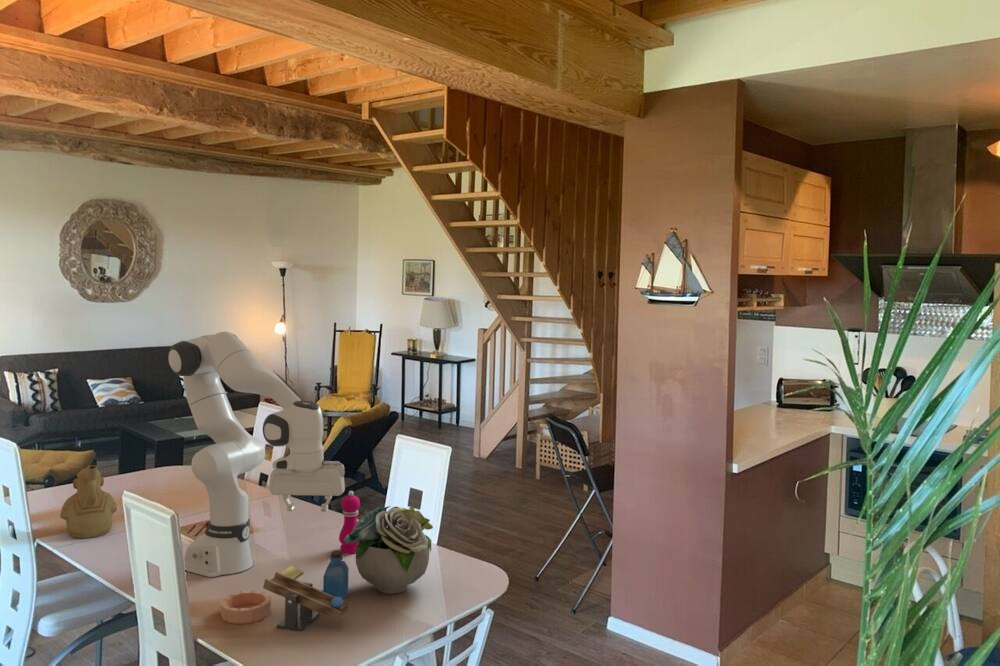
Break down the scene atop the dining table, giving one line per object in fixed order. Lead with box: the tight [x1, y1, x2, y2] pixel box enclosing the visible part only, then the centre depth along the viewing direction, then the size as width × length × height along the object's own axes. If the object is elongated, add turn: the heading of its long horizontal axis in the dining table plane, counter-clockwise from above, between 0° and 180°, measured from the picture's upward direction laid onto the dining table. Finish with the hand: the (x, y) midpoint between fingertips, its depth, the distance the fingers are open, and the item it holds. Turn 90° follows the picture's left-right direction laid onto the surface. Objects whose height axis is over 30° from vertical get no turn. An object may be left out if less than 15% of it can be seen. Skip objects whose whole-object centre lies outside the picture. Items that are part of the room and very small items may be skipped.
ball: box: [331, 597, 344, 610], centre depth 190 cm, size 3×3×3 cm
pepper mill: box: [338, 490, 361, 555], centre depth 244 cm, size 7×7×20 cm
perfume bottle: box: [322, 549, 349, 598], centre depth 211 cm, size 6×6×12 cm
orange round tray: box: [220, 590, 272, 625], centre depth 197 cm, size 12×12×4 cm
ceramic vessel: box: [59, 464, 118, 539], centre depth 254 cm, size 17×20×25 cm
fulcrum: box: [276, 581, 321, 633], centre depth 193 cm, size 7×10×9 cm
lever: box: [262, 565, 351, 621], centre depth 196 cm, size 22×14×3 cm, turn 76°
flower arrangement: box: [344, 506, 434, 595], centre depth 215 cm, size 25×25×24 cm
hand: (307, 510), depth 203 cm, fingers open, 8 cm apart
